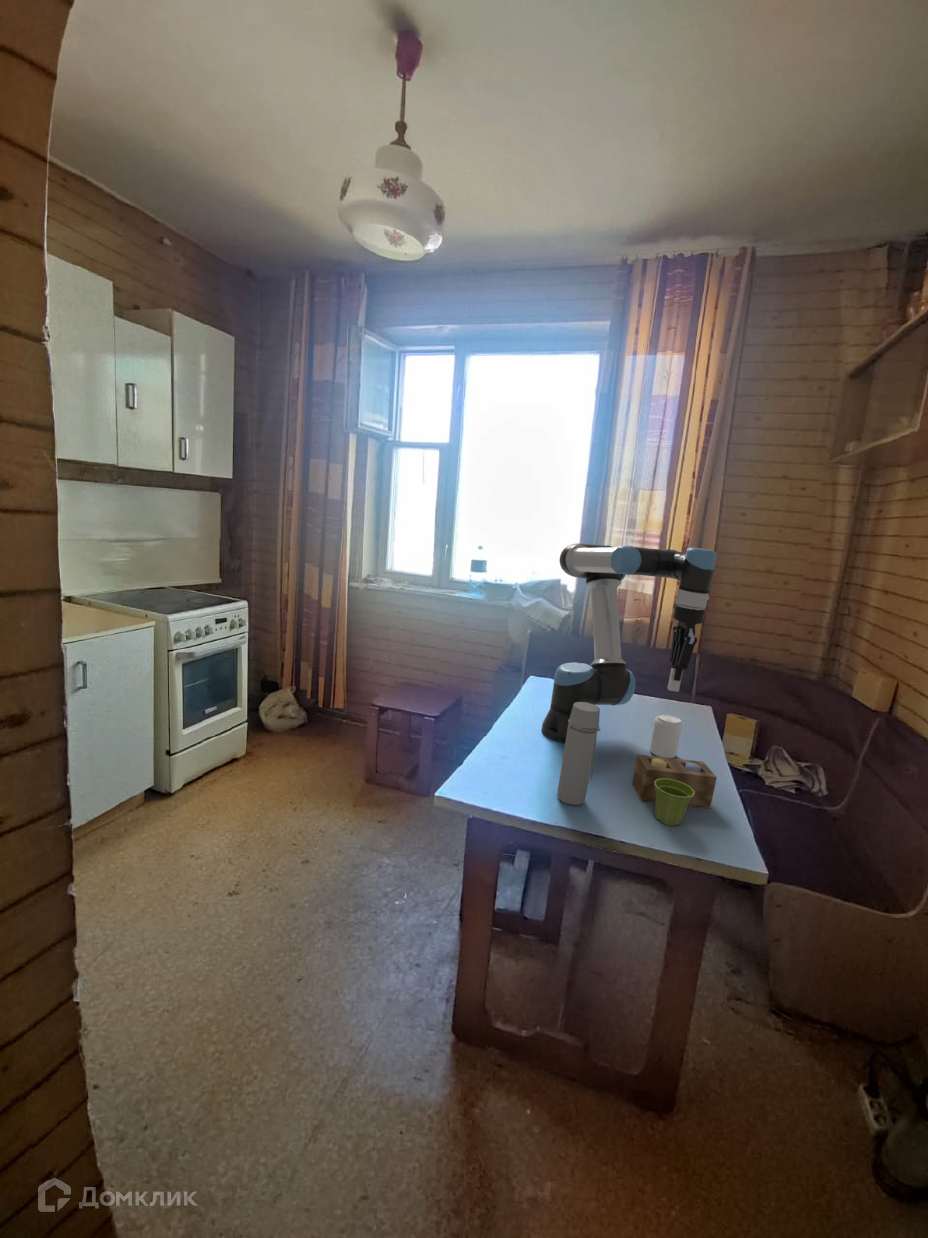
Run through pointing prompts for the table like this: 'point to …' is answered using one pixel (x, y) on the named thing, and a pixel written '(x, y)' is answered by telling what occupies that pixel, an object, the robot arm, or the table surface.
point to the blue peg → (692, 767)
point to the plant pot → (671, 800)
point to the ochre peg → (658, 763)
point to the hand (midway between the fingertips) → (672, 690)
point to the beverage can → (665, 735)
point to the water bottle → (579, 753)
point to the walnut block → (674, 770)
